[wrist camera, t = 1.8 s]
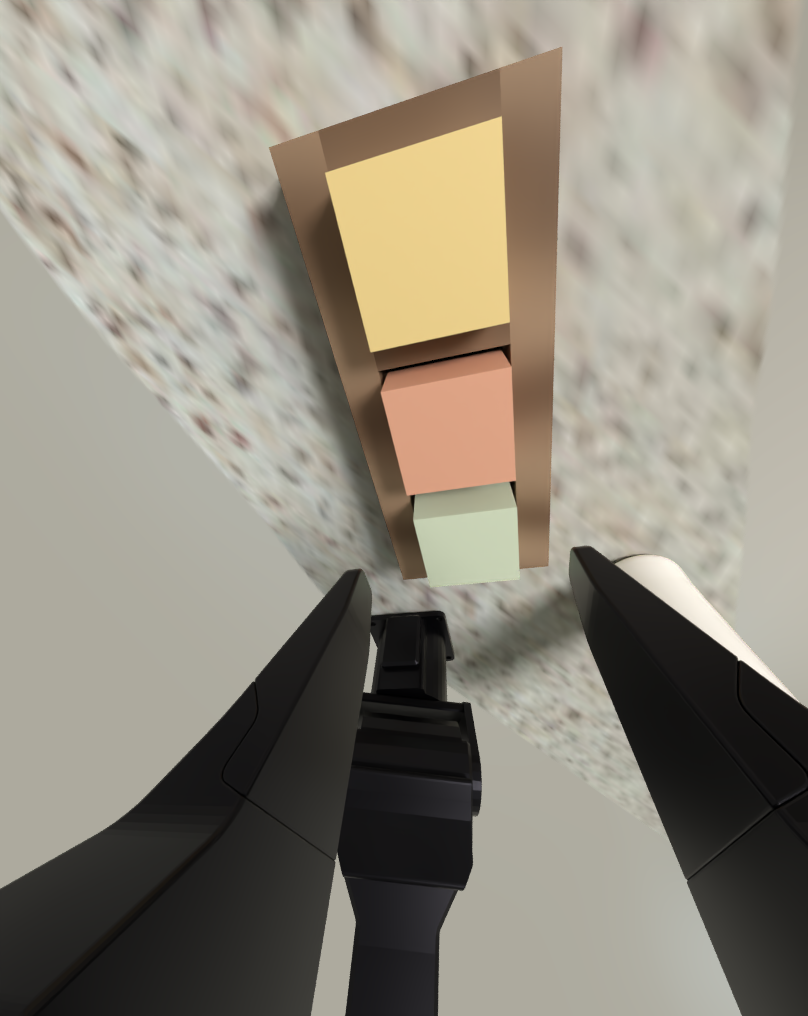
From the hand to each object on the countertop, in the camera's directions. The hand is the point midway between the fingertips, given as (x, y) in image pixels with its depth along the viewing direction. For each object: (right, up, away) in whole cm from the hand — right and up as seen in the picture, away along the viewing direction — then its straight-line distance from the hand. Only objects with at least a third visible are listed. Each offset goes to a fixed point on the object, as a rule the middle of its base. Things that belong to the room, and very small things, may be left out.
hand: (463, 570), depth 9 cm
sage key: (+2, +1, +12) cm, 12 cm away
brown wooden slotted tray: (+1, +7, +10) cm, 12 cm away
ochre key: (-1, +11, +4) cm, 12 cm away
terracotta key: (+1, +6, +8) cm, 10 cm away
